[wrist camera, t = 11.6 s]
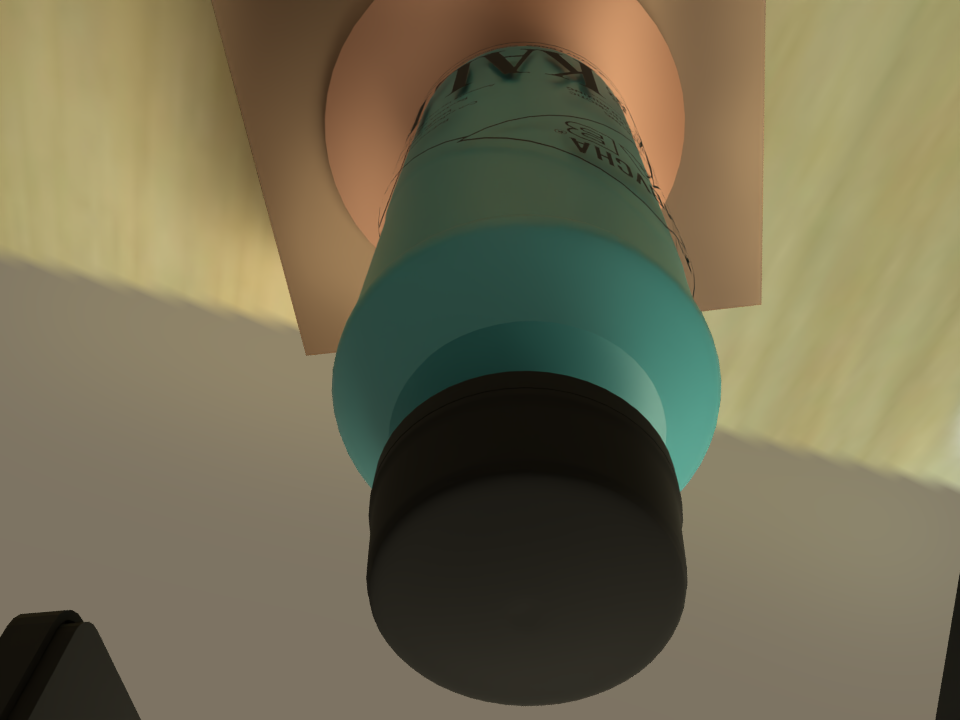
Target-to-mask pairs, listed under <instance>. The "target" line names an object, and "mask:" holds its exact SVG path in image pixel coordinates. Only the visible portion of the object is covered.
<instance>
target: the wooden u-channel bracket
mask: <svg viewBox="0 0 960 720" xmlns="http://www.w3.org/2000/svg"><path fill="white" fill-rule="evenodd" d="M211 1H212V5H213V8H214V12H215V16H216V20H217V23H218V27H219V31H220V35H221V38H222V42H223V46H224V50H225V53H226V57H227V61H228V65H229V68H230V72H231V76H232V80H233V83H234V87H235V91H236V95H237V98H238V102H239V106H240V110H241V113H242V117H243V121H244V125H245V128H246V132H247V136H248V139H249V143H250V147H251V151H252V154H253V158H254V162H255V166H256V169H257V173H258V177H259V181H260V184H261V188H262V192H263V196H264V199H265V203H266V207H267V211H268V214H269V218H270V222H271V226H272V229H273V233H274V237H275V241H276V244H277V248H278V252H279V256H280V259H281V263H282V267H283V270H284V274H285V278H286V282H287V285H288V289H289V293H290V297H291V300H292V304H293V308H294V312H295V315H296V319H297V323H298V327H299V330H300V334H301V338H302V342H303V345H304V349H305V353H306V355H317V354H325V353H334V352H337V348H338V343H339V340H340V338H341V335H342V332H343V329H344V327H345V324H346V321H347V320H348V318H349V316H350V314H351V312H352V310H353V309H354V307H355V305H356V303H357V301H358V298H359V295H360V293H361V290H362V287H363V284H364V281H365V278H366V275H367V272H368V269H369V267H370V264H371V261H372V258H373V255H374V252H375V249H376V246H377V243H378V241H379V238H380V237H379V234H380V235H381V232H382V229H383V226H384V223H385V217H386V212H387V209H388V206H389V203H390V200H391V198H390V195H391V193H392V194H393V192H392V190H393V187H394V185H395V186H396V184H395V182H396V179H397V177H398V178H399V176H398V174H399V173H398V172H399V171H400V169H401V170H402V168H403V166H402V163H403V161H404V162H405V160H404V158H405V155H406V153H407V155H408V152H409V149H410V146H409V143H410V145H411V144H412V143H411V142H412V141H413V139H414V136H415V134H416V131H417V128H418V126H419V123H420V122H419V121H420V120H421V118H422V115H423V113H424V110H425V108H426V106H427V105H428V103H429V101H430V99H431V97H432V96H433V94H434V92H435V89H436V87H437V86H438V84H439V83H440V82H442V81H443V80H444V79H445V78H446V77H447V76H449V75H451V73H452V72H454V71H455V70H457V69H458V68H459V67H460V66H462V65H464V64H465V63H467V62H468V61H470V60H471V57H472V59H474V58H476V57H478V56H480V55H482V54H484V53H485V51H486V53H487V50H488V52H490V51H491V49H492V51H493V48H494V50H495V48H496V49H497V48H498V49H499V47H500V49H501V48H504V46H505V48H506V46H507V47H508V46H509V47H510V45H511V47H512V45H513V47H514V45H515V46H516V45H518V46H527V45H529V46H532V47H535V46H534V45H539V46H540V47H541V46H545V48H546V47H548V48H547V49H550V48H552V49H553V50H554V48H555V49H556V51H559V50H562V51H563V52H562V53H565V54H567V53H570V54H571V55H570V54H567V55H569V56H571V57H573V58H575V59H577V60H579V61H581V62H582V63H584V64H585V65H587V66H588V67H589V68H591V69H592V70H594V72H595V73H596V72H597V73H596V74H597V75H599V76H600V77H601V78H602V80H603V81H604V82H605V83H606V84H607V85H608V87H609V88H610V89H611V91H612V92H614V93H613V94H614V95H615V96H616V98H617V99H618V98H619V99H618V100H619V101H620V103H621V102H622V103H621V105H622V106H623V105H624V107H625V109H626V111H627V112H626V111H625V112H626V113H625V112H624V111H623V112H624V115H625V117H626V120H627V123H628V125H629V128H630V129H631V133H632V134H633V135H632V136H633V138H634V136H636V137H639V136H640V138H641V140H640V138H638V139H637V138H636V137H635V138H636V139H635V138H634V139H635V140H636V141H635V140H634V141H635V143H636V146H637V149H638V150H639V151H640V152H639V153H640V156H641V159H642V162H643V164H644V167H645V169H646V171H647V174H648V175H650V176H651V172H650V169H649V166H648V164H647V163H648V162H647V158H648V161H650V162H649V163H650V165H651V169H652V175H653V179H652V178H651V177H650V178H651V179H650V178H649V180H650V182H651V184H652V185H653V181H654V185H655V186H657V185H658V187H659V188H660V189H657V188H654V187H653V186H652V187H653V189H654V190H655V191H656V192H657V194H658V195H659V196H660V199H661V202H662V204H663V203H664V204H665V206H666V209H667V211H668V213H669V214H670V215H671V214H672V215H671V217H672V219H673V220H674V223H675V225H676V226H675V225H674V223H673V224H672V222H673V220H672V219H670V217H669V216H668V214H667V211H666V209H665V206H664V204H663V207H664V208H663V207H662V206H661V205H660V204H661V203H660V204H659V206H660V208H661V211H662V213H663V216H664V219H665V221H666V224H667V226H668V228H669V229H670V230H671V231H673V232H675V231H676V233H674V234H675V235H676V236H677V237H676V236H675V235H674V234H673V233H672V232H671V231H670V230H669V232H670V234H671V237H672V239H673V242H674V244H675V247H676V242H677V247H676V250H677V252H678V255H679V257H680V260H681V262H682V265H683V269H684V273H685V276H686V280H687V283H688V286H689V289H690V291H691V294H692V296H693V290H694V280H695V290H694V297H693V299H694V301H695V303H696V304H697V306H698V307H699V309H700V310H701V311H709V310H718V309H726V308H735V307H744V306H753V305H761V295H762V225H763V155H764V85H765V15H766V0H211ZM514 42H522V43H514ZM527 42H535V43H527ZM505 43H508V44H505ZM541 43H544V44H541ZM500 44H503V45H500ZM547 44H549V45H547ZM495 45H498V46H495ZM552 45H555V46H552ZM492 46H493V47H492ZM556 46H558V47H556ZM489 47H490V48H489ZM559 47H561V48H559ZM486 48H487V49H486ZM542 48H543V47H542ZM562 48H564V49H562ZM483 49H484V50H483ZM565 49H567V50H565ZM480 50H481V51H480ZM489 50H490V51H489ZM568 50H569V51H568ZM478 51H479V52H478ZM571 51H572V52H571ZM476 52H477V53H476ZM483 52H484V53H483ZM559 52H561V51H559ZM573 52H574V53H573ZM474 53H475V54H474ZM479 53H480V55H479ZM481 53H482V54H481ZM575 53H576V54H575ZM472 54H473V55H472ZM477 54H478V56H477ZM577 54H578V55H577ZM470 55H471V56H470ZM475 55H476V57H475ZM573 55H574V56H575V57H574V56H573ZM579 55H580V56H579ZM468 56H469V57H468ZM473 56H474V58H473ZM581 56H582V57H581ZM466 57H467V58H466ZM577 57H579V59H578V58H577ZM464 58H465V59H464ZM469 58H470V60H469ZM584 58H585V59H584ZM463 59H464V60H463ZM467 59H468V61H467ZM582 59H583V60H584V61H586V62H584V61H582ZM461 60H462V61H461ZM465 60H466V62H465ZM587 60H588V61H587ZM460 61H461V62H460ZM458 62H459V63H458ZM462 62H464V63H462ZM590 62H591V63H590ZM457 63H458V64H457ZM460 63H461V65H460ZM588 63H589V64H590V65H592V66H593V67H594V68H596V69H594V68H593V67H592V66H590V65H589V64H588ZM455 64H456V65H455ZM593 64H594V65H593ZM454 65H455V66H454ZM458 65H459V66H458ZM456 66H457V67H456ZM450 68H451V69H450ZM453 68H454V69H453ZM449 69H450V70H449ZM599 69H600V70H601V71H602V72H601V71H600V70H599ZM451 70H452V71H451ZM448 72H450V73H448ZM599 72H601V73H602V74H600V73H599ZM443 74H444V75H443ZM446 74H447V75H446ZM442 75H443V76H442ZM603 75H604V76H605V77H606V78H607V79H608V78H609V79H610V80H609V79H608V80H607V79H606V78H605V77H604V76H603ZM441 76H442V77H441ZM440 77H441V78H440ZM443 77H444V78H443ZM440 79H441V80H440ZM444 81H445V80H444ZM444 81H443V82H444ZM438 82H439V83H438ZM443 82H442V83H443ZM437 83H438V84H437ZM442 83H441V84H442ZM441 84H440V85H441ZM433 85H434V86H435V87H434V86H433ZM440 85H439V86H440ZM614 85H615V86H614ZM432 86H433V87H434V88H433V87H432ZM613 86H614V87H613ZM615 88H616V89H615ZM430 89H431V90H430ZM437 89H438V88H437ZM430 91H431V92H432V93H431V92H430ZM617 91H618V92H617ZM428 92H430V93H431V94H430V93H428ZM429 94H430V95H429ZM427 97H428V98H427ZM621 97H622V98H621ZM426 99H427V100H426ZM425 100H426V102H425ZM623 100H624V101H623ZM423 101H424V102H425V105H424V108H423V110H422V113H421V115H420V118H419V121H418V122H419V123H417V126H416V127H415V129H414V130H413V131H412V133H411V134H410V133H409V132H411V131H410V130H412V129H411V127H412V126H413V124H414V122H415V120H416V118H415V117H417V115H418V112H419V110H420V108H421V106H422V105H423V103H424V102H423ZM623 102H624V103H623ZM621 105H620V106H621ZM625 105H626V106H625ZM626 107H627V108H626ZM621 108H622V107H621ZM623 109H624V108H622V110H623ZM625 109H624V110H625ZM627 109H628V110H627ZM630 115H631V116H630ZM631 117H632V118H631ZM414 119H415V120H414ZM632 119H633V120H632ZM633 121H634V122H633ZM634 124H635V125H634ZM634 126H636V127H634ZM636 128H637V129H636ZM632 129H633V130H632ZM632 131H633V132H632ZM636 131H638V132H636ZM634 132H635V133H634ZM638 133H639V134H638ZM408 134H409V135H410V136H408ZM634 134H635V135H634ZM637 134H638V135H637ZM408 137H409V138H408ZM407 138H408V140H406V139H407ZM411 139H412V140H411ZM409 140H410V141H411V142H410V141H409ZM637 140H638V141H637ZM406 141H407V142H406ZM641 141H642V144H643V145H642V146H644V148H645V149H644V148H643V147H641V148H640V146H638V143H639V142H641ZM637 142H638V143H637ZM406 144H407V145H406ZM639 144H640V143H639ZM408 146H409V149H408ZM405 148H406V149H405ZM407 149H408V152H407ZM642 150H645V151H642ZM402 151H403V152H402ZM643 152H644V153H643ZM645 152H646V154H645ZM401 153H402V154H401ZM400 154H401V156H400ZM641 154H642V155H643V156H642V155H641ZM403 155H404V156H403ZM407 155H406V157H407ZM645 155H647V156H648V157H647V158H646V156H645ZM399 157H400V158H399ZM401 158H402V159H401ZM644 158H645V159H644ZM398 159H399V161H398ZM400 159H401V160H400ZM645 160H646V161H645ZM397 161H398V162H397ZM403 165H404V163H403ZM401 166H402V168H401ZM653 170H654V172H653ZM393 172H394V173H393ZM400 173H401V171H400ZM653 173H654V174H653ZM396 175H397V176H396ZM399 175H400V174H399ZM654 175H655V176H654ZM395 176H396V177H395ZM394 177H395V178H394ZM656 179H657V180H656ZM392 180H393V181H392ZM391 181H392V182H391ZM397 181H398V179H397ZM656 181H658V182H656ZM655 182H656V183H655ZM396 183H397V182H396ZM387 188H388V189H387ZM394 189H395V187H394ZM386 190H387V191H386ZM393 191H394V190H393ZM655 191H654V193H655V195H656V196H657V194H656V192H655ZM385 192H386V193H385ZM662 192H663V193H662ZM663 196H664V197H663ZM391 197H392V195H391ZM657 197H658V196H657ZM657 197H656V198H657ZM389 198H390V200H389ZM388 200H389V203H388ZM657 200H658V201H659V199H658V198H657ZM659 202H660V201H659ZM659 202H658V203H659ZM387 203H388V206H387ZM386 206H387V208H386ZM385 208H386V211H385ZM664 209H665V210H664ZM669 209H670V210H669ZM379 211H380V214H379ZM384 211H385V214H384ZM670 211H671V213H670ZM383 214H384V216H383ZM382 216H383V219H382ZM378 219H379V225H380V227H378ZM381 219H382V222H381V224H380V221H381ZM674 226H675V227H676V228H675V227H674ZM673 227H674V229H673ZM677 229H678V231H679V233H677V232H678V231H677ZM679 234H680V235H679ZM680 236H681V238H679V237H680ZM675 237H676V238H675ZM677 238H678V239H679V240H680V239H682V241H681V240H680V241H679V240H677ZM678 241H679V242H678ZM680 242H681V243H682V242H683V243H684V245H682V244H683V243H682V244H681V243H680ZM679 243H680V245H679ZM680 246H681V247H680ZM683 246H685V248H683V249H682V250H681V248H682V247H683ZM685 249H686V250H685ZM682 251H683V253H682ZM685 252H686V253H685ZM684 253H685V254H684ZM683 254H684V255H683ZM686 255H687V257H686V258H688V259H689V262H690V263H689V266H690V268H691V272H690V269H689V266H688V264H687V261H686V259H685V256H686ZM690 260H691V261H690ZM691 264H692V265H691ZM692 268H693V269H692ZM693 272H694V273H693Z"/></svg>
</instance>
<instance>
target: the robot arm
mask: <svg viewBox="0 0 960 720" xmlns="http://www.w3.org/2000/svg"><path fill="white" fill-rule="evenodd" d="M0 720H141V719H140V717H139V715H138V713H137V711H136V709H135V707H134V705H133V703H132V701H131V699H130V697H129V695H128V692H127V690H126V688H125V686H124V684H123V682H122V680H121V678H120V676H119V674H118V672H117V670H116V668H115V666H114V664H113V662H112V660H111V658H110V656H109V653H108V651H107V649H106V647H105V645H104V643H103V641H102V639H101V637H100V635H99V633H98V631H97V629H96V628H95V626H94V625H93V624H92V623H90V622H83V620H82V619H81V617H80V616H79V614H78V613H76V612H74V611H73V610H66V611H65V610H64V611H53V612H41V613H29V614H20V615H18V616H17V617H15V618H13V620H12V621H11V622H10V623H9V625H8V626H7V628H6V629H5V630H4V632H3V634H2V635H1V637H0ZM936 720H960V575H959V581H958V588H957V594H956V599H955V606H954V611H953V617H952V623H951V630H950V635H949V641H948V648H947V654H946V660H945V665H944V672H943V678H942V683H941V689H940V696H939V701H938V708H937V714H936Z"/></svg>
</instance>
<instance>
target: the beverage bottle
mask: <svg viewBox="0 0 960 720" xmlns="http://www.w3.org/2000/svg"><path fill="white" fill-rule="evenodd" d="M514 43H522V42H514ZM527 43H535V42H527ZM505 44H508V43H505ZM541 44H544V43H541ZM500 45H503V44H500ZM547 45H549V44H547ZM495 46H498V45H495ZM534 46H535V47H532V46H529V45H527V46H518V45H516V46H515V45H514V47H513V45H512V47H511V45H510V47H509V46H508V47H507V46H506V48H505V46H504V48H501V49H500V47H499V49H498V48H497V49H496V48H495V50H494V48H493V51H492V49H491V51H490V50H489V51H490V52H488V50H487V53H486V51H485V53H484V52H483V53H484V54H482V53H481V54H482V55H480V53H479V55H480V56H478V54H477V56H478V57H476V55H475V57H476V58H474V56H473V58H474V59H472V57H471V60H470V58H469V60H470V61H468V59H467V61H468V62H467V63H465V64H464V65H462V66H460V67H459V68H458V69H457V70H455V71H454V72H452V73H451V75H449V76H447V77H446V78H445V79H444V80H445V81H444V80H443V81H444V82H443V81H442V82H443V83H442V82H440V83H439V82H438V83H439V84H438V83H437V84H438V86H437V87H436V89H435V92H434V94H433V96H432V97H431V99H430V101H429V103H428V105H427V106H426V108H425V110H424V113H423V115H422V118H421V120H420V121H419V118H420V115H421V113H422V110H423V108H424V105H425V102H426V100H427V99H426V100H425V102H424V101H423V102H424V103H423V105H422V106H421V108H420V110H419V112H418V115H417V117H415V118H416V120H415V119H414V120H415V122H414V124H413V126H412V127H411V129H412V130H410V131H411V132H409V133H410V134H411V133H412V131H413V130H414V129H415V127H416V126H417V123H419V122H420V123H419V126H418V128H417V131H416V134H415V136H414V139H413V141H412V142H411V141H410V140H409V141H410V142H411V143H412V144H411V145H410V143H409V146H410V149H409V146H408V149H409V152H408V149H407V152H408V155H407V153H406V155H407V157H406V155H405V158H404V160H405V162H404V161H403V163H404V165H403V163H402V166H403V168H402V166H401V168H402V170H401V169H400V171H401V173H400V171H399V172H398V173H399V174H400V175H399V174H398V176H399V178H398V177H397V179H398V181H397V179H396V182H397V183H396V182H395V184H396V186H395V185H394V187H395V189H394V187H393V190H394V191H393V190H392V192H393V194H392V193H391V195H392V197H391V195H390V198H391V200H390V198H389V200H390V203H389V200H388V203H389V206H388V203H387V206H388V209H387V212H386V217H385V223H384V226H383V229H382V232H381V235H380V234H379V237H380V238H379V241H378V243H377V246H376V249H375V252H374V255H373V258H372V261H371V264H370V267H369V269H368V272H367V275H366V278H365V281H364V284H363V287H362V290H361V293H360V295H359V298H358V301H357V303H356V305H355V307H354V309H353V310H352V312H351V314H350V316H349V318H348V320H347V321H346V324H345V327H344V329H343V332H342V335H341V338H340V340H339V343H338V348H337V352H336V357H335V362H334V367H333V378H332V395H333V396H332V397H333V406H334V413H335V417H336V421H337V425H338V429H339V432H340V435H341V437H342V440H343V442H344V444H345V447H346V449H347V452H348V454H349V456H350V458H351V459H352V461H353V463H354V465H355V466H356V468H357V470H358V472H359V473H360V474H361V476H362V477H363V478H364V480H366V482H367V483H368V485H369V486H370V487H371V488H372V490H371V495H370V506H369V525H370V542H369V553H368V564H367V576H366V580H367V590H368V596H369V601H370V606H371V610H372V614H373V617H374V619H375V622H376V624H377V626H378V629H379V631H380V632H381V634H382V635H383V637H384V639H385V640H386V642H387V643H388V644H389V646H391V648H392V649H393V650H394V652H395V653H396V654H397V655H398V656H399V657H400V658H401V659H402V660H403V661H404V662H406V663H407V664H408V665H409V666H410V667H412V668H413V669H414V670H415V671H417V672H418V673H420V674H421V675H423V676H424V677H426V678H427V679H429V680H430V681H432V682H434V683H436V684H437V685H439V686H442V687H444V688H446V689H449V690H450V691H453V692H455V693H458V694H461V695H464V696H467V697H470V698H473V699H478V700H482V701H486V702H492V703H498V704H505V705H518V706H539V705H552V704H561V703H566V702H571V701H576V700H580V699H583V698H587V697H590V696H593V695H596V694H599V693H601V692H604V691H606V690H609V689H611V688H613V687H615V686H617V685H619V684H621V683H623V682H625V681H626V680H628V679H629V678H631V677H633V676H634V675H636V674H637V673H639V672H640V671H641V670H642V669H644V668H645V667H646V666H647V665H648V664H649V663H651V662H652V661H653V660H654V658H655V657H656V656H657V655H658V654H659V653H660V652H661V651H662V649H663V648H664V647H665V646H666V644H667V643H668V641H669V640H670V638H671V637H672V635H673V633H674V631H675V629H676V627H677V625H678V623H679V621H680V617H681V615H682V612H683V609H684V603H685V596H686V589H687V566H686V558H685V550H684V544H683V535H682V523H683V513H682V501H681V494H680V491H681V490H682V489H683V488H684V487H685V486H686V485H687V483H688V482H689V481H690V479H691V478H692V476H693V475H694V473H695V472H696V470H697V469H698V467H699V466H700V464H701V462H702V460H703V458H704V456H705V454H706V452H707V450H708V448H709V446H710V443H711V440H712V437H713V434H714V431H715V428H716V423H717V418H718V412H719V407H720V400H721V375H720V367H719V359H718V355H717V352H716V348H715V345H714V341H713V338H712V335H711V332H710V330H709V328H708V325H707V323H706V321H705V319H704V317H703V314H702V312H701V310H700V309H699V307H698V306H697V304H696V303H695V301H694V299H693V297H694V290H695V280H694V290H693V296H692V294H691V291H690V289H689V286H688V283H687V280H686V276H685V273H684V269H683V265H682V262H681V260H680V257H679V255H678V252H677V250H676V247H677V242H676V247H675V244H674V242H673V239H672V237H671V234H670V232H669V230H670V229H669V228H668V226H667V224H666V221H665V219H664V216H663V213H662V211H661V208H660V206H659V204H660V203H661V204H660V205H661V206H662V207H663V204H664V203H663V204H662V202H661V199H660V196H659V195H658V194H657V192H656V191H655V190H654V189H653V187H654V188H657V189H660V188H659V187H658V185H657V186H655V185H654V181H653V185H652V184H651V182H650V180H649V178H650V177H651V178H652V179H653V175H652V169H651V165H650V163H649V162H650V161H648V158H647V157H648V156H647V155H645V156H646V158H647V162H648V163H647V164H648V166H649V169H650V172H651V176H650V175H648V174H647V171H646V169H645V167H644V164H643V162H642V159H641V156H640V153H639V152H640V151H639V150H638V149H637V146H636V143H635V141H636V140H635V139H636V138H637V139H638V138H640V136H639V137H636V136H634V138H635V137H636V138H635V139H634V138H633V136H632V135H633V134H632V133H631V129H630V128H629V125H628V123H627V120H626V117H625V115H624V112H625V111H626V109H625V107H624V105H623V106H622V105H621V103H622V102H621V103H620V101H619V100H618V99H619V98H618V99H617V98H616V96H615V95H614V94H613V93H614V92H612V91H611V89H610V88H609V87H608V85H607V84H606V83H605V82H604V81H603V80H602V78H601V77H600V76H599V75H597V74H596V73H597V72H596V73H595V72H594V70H592V69H591V68H589V67H588V66H587V65H585V64H584V63H582V62H581V61H579V60H577V59H575V58H573V57H571V56H569V55H567V54H570V53H567V54H565V53H562V52H563V51H562V50H559V51H561V52H559V51H556V49H555V48H554V50H553V49H552V48H550V49H547V48H548V47H546V48H545V46H541V47H540V46H539V45H534ZM552 46H555V45H552ZM492 47H493V46H492ZM542 47H543V48H542ZM556 47H558V46H556ZM489 48H490V47H489ZM559 48H561V47H559ZM486 49H487V48H486ZM562 49H564V48H562ZM483 50H484V49H483ZM565 50H567V49H565ZM480 51H481V50H480ZM568 51H569V50H568ZM478 52H479V51H478ZM571 52H572V51H571ZM476 53H477V52H476ZM573 53H574V52H573ZM474 54H475V53H474ZM575 54H576V53H575ZM472 55H473V54H472ZM570 55H571V54H570ZM577 55H578V54H577ZM470 56H471V55H470ZM573 56H574V55H573ZM579 56H580V55H579ZM468 57H469V56H468ZM574 57H575V56H574ZM581 57H582V56H581ZM466 58H467V57H466ZM577 58H578V59H579V57H577ZM464 59H465V58H464ZM464 59H463V60H464ZM584 59H585V58H584ZM461 61H462V60H461ZM461 61H460V62H461ZM582 61H584V60H583V59H582ZM587 61H588V60H587ZM465 62H466V60H465ZM584 62H586V61H584ZM458 63H459V62H458ZM458 63H457V64H458ZM462 63H464V62H462ZM590 63H591V62H590ZM588 64H589V63H588ZM455 65H456V64H455ZM455 65H454V66H455ZM460 65H461V63H460ZM589 65H590V64H589ZM593 65H594V64H593ZM458 66H459V65H458ZM590 66H592V65H590ZM456 67H457V66H456ZM592 67H593V66H592ZM593 68H594V67H593ZM450 69H451V68H450ZM450 69H449V70H450ZM453 69H454V68H453ZM594 69H596V68H594ZM599 70H600V69H599ZM451 71H452V70H451ZM600 71H601V70H600ZM601 72H602V71H601ZM601 72H599V73H600V74H602V73H601ZM448 73H450V72H448ZM443 75H444V74H443ZM443 75H442V76H443ZM446 75H447V74H446ZM442 76H441V77H442ZM603 76H604V75H603ZM441 77H440V78H441ZM604 77H605V76H604ZM443 78H444V77H443ZM605 78H606V77H605ZM606 79H607V78H606ZM608 79H609V78H608ZM608 79H607V80H608ZM440 80H441V79H440ZM609 80H610V79H609ZM441 83H442V84H441ZM440 84H441V85H440ZM439 85H440V86H439ZM433 86H434V85H433ZM433 86H432V87H433ZM614 86H615V85H614ZM614 86H613V87H614ZM434 87H435V86H434ZM434 87H433V88H434ZM437 88H438V89H437ZM615 89H616V88H615ZM430 90H431V89H430ZM430 92H431V91H430ZM430 92H428V93H430ZM617 92H618V91H617ZM431 93H432V92H431ZM431 93H430V94H431ZM430 94H429V95H430ZM427 98H428V97H427ZM621 98H622V97H621ZM623 101H624V100H623ZM623 103H624V102H623ZM620 105H621V106H620ZM625 106H626V105H625ZM621 107H622V108H624V109H625V110H624V109H623V110H622V108H621ZM626 108H627V107H626ZM627 110H628V109H627ZM623 111H624V112H623ZM626 112H627V111H626ZM626 112H625V113H626ZM630 116H631V115H630ZM631 118H632V117H631ZM632 120H633V119H632ZM418 121H419V122H418ZM633 122H634V121H633ZM634 125H635V124H634ZM634 127H636V126H634ZM636 129H637V128H636ZM632 130H633V129H632ZM632 132H633V131H632ZM636 132H638V131H636ZM634 133H635V132H634ZM638 134H639V133H638ZM638 134H637V135H638ZM634 135H635V134H634ZM408 136H410V135H409V134H408ZM408 138H409V137H408ZM408 138H407V139H406V140H408ZM411 140H412V139H411ZM634 140H635V141H634ZM640 140H641V138H640ZM637 141H638V140H637ZM406 142H407V141H406ZM637 143H638V142H637ZM639 143H640V144H639ZM639 143H638V146H640V148H641V147H643V148H644V146H642V145H643V144H642V141H641V142H639ZM406 145H407V144H406ZM405 149H406V148H405ZM644 149H645V148H644ZM642 151H645V150H642ZM402 152H403V151H402ZM643 153H644V152H643ZM401 154H402V153H401ZM401 154H400V156H401ZM645 154H646V152H645ZM641 155H642V154H641ZM403 156H404V155H403ZM642 156H643V155H642ZM399 158H400V157H399ZM401 159H402V158H401ZM401 159H400V160H401ZM644 159H645V158H644ZM398 161H399V159H398ZM398 161H397V162H398ZM645 161H646V160H645ZM653 172H654V170H653ZM393 173H394V172H393ZM653 174H654V173H653ZM396 176H397V175H396ZM396 176H395V177H396ZM654 176H655V175H654ZM395 177H394V178H395ZM651 178H650V179H651ZM656 180H657V179H656ZM392 181H393V180H392ZM392 181H391V182H392ZM656 182H658V181H656ZM656 182H655V183H656ZM652 186H653V187H652ZM387 189H388V188H387ZM386 191H387V190H386ZM654 191H655V192H656V194H657V196H658V197H657V196H656V195H655V193H654ZM385 193H386V192H385ZM662 193H663V192H662ZM656 197H657V198H658V199H659V201H660V202H659V201H658V200H657V198H656ZM663 197H664V196H663ZM658 202H659V203H658ZM387 206H386V208H387ZM664 206H665V204H664ZM386 208H385V211H386ZM663 208H664V207H663ZM665 209H666V206H665ZM665 209H664V210H665ZM669 210H670V209H669ZM385 211H384V214H385ZM666 211H667V209H666ZM670 213H671V211H670ZM379 214H380V211H379ZM384 214H383V216H384ZM667 214H668V216H669V217H670V219H672V217H671V215H672V214H671V215H670V214H669V213H668V211H667ZM383 216H382V219H383ZM382 219H381V221H380V224H381V222H382ZM672 220H673V219H672ZM673 223H674V220H673V222H672V224H673ZM674 225H675V223H674ZM675 226H676V225H675ZM675 226H674V227H675ZM378 227H380V225H379V219H378ZM674 227H673V229H674ZM675 228H676V227H675ZM670 231H671V230H670ZM677 231H678V229H677ZM671 232H672V233H673V234H674V233H676V231H675V232H673V231H671ZM677 233H679V231H678V232H677ZM674 235H675V234H674ZM679 235H680V234H679ZM675 236H676V235H675ZM676 237H677V236H676ZM676 237H675V238H676ZM679 238H681V236H680V237H679ZM677 240H679V239H678V238H677ZM680 240H681V241H682V239H680ZM680 240H679V241H680ZM679 241H678V242H679ZM680 243H681V242H680ZM680 243H679V245H680ZM682 243H683V242H682ZM682 243H681V244H682ZM682 245H684V243H683V244H682ZM680 247H681V246H680ZM683 248H685V246H683V247H682V248H681V250H682V249H683ZM685 250H686V249H685ZM682 253H683V251H682ZM685 253H686V252H685ZM685 253H684V254H685ZM684 254H683V255H684ZM686 257H687V255H686V256H685V259H686V261H687V264H688V266H689V263H690V262H689V259H688V258H686ZM690 261H691V260H690ZM691 265H692V264H691ZM689 269H690V272H691V268H690V266H689ZM692 269H693V268H692ZM693 273H694V272H693Z"/></svg>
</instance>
